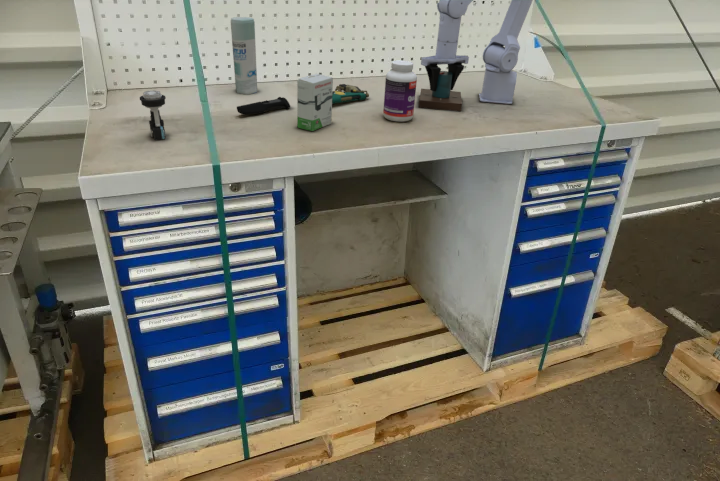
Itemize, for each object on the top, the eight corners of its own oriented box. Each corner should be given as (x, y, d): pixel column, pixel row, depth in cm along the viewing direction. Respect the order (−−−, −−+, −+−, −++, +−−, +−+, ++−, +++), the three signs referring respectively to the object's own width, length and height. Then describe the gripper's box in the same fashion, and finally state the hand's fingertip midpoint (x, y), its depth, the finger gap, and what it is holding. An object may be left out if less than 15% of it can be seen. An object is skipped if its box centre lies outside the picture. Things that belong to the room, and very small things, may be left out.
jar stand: (420, 95, 160) (421, 87, 159) (459, 99, 159) (460, 91, 158) (418, 107, 149) (419, 99, 148) (460, 111, 148) (462, 103, 147)
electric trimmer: (234, 116, 136) (233, 104, 134) (283, 105, 145) (282, 94, 143) (242, 120, 133) (241, 107, 132) (291, 109, 143) (291, 97, 141)
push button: (143, 132, 122) (135, 89, 116) (166, 129, 124) (160, 87, 119) (148, 141, 117) (141, 97, 112) (173, 138, 119) (167, 94, 114)
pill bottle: (411, 124, 136) (416, 67, 129) (380, 121, 137) (384, 64, 130) (414, 115, 143) (420, 60, 136) (385, 112, 144) (389, 58, 137)
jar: (437, 92, 156) (439, 68, 153) (452, 95, 154) (456, 71, 150) (428, 95, 153) (431, 71, 149) (444, 99, 150) (447, 74, 147)
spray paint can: (262, 91, 156) (259, 19, 146) (247, 95, 152) (242, 21, 141) (246, 87, 159) (241, 16, 149) (230, 91, 155) (225, 18, 144)
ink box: (312, 132, 127) (312, 82, 121) (296, 127, 130) (295, 79, 123) (332, 123, 134) (333, 75, 128) (317, 119, 136) (317, 72, 130)
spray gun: (353, 92, 162) (376, 108, 151) (303, 93, 155) (322, 109, 144) (355, 78, 160) (378, 93, 149) (304, 78, 153) (324, 94, 142)
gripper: (432, 44, 140) (426, 95, 147) (477, 42, 145) (470, 91, 152) (419, 39, 145) (414, 88, 152) (463, 38, 150) (456, 85, 157)
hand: (441, 89), depth 152 cm, fingers closed on jar, 5 cm apart
